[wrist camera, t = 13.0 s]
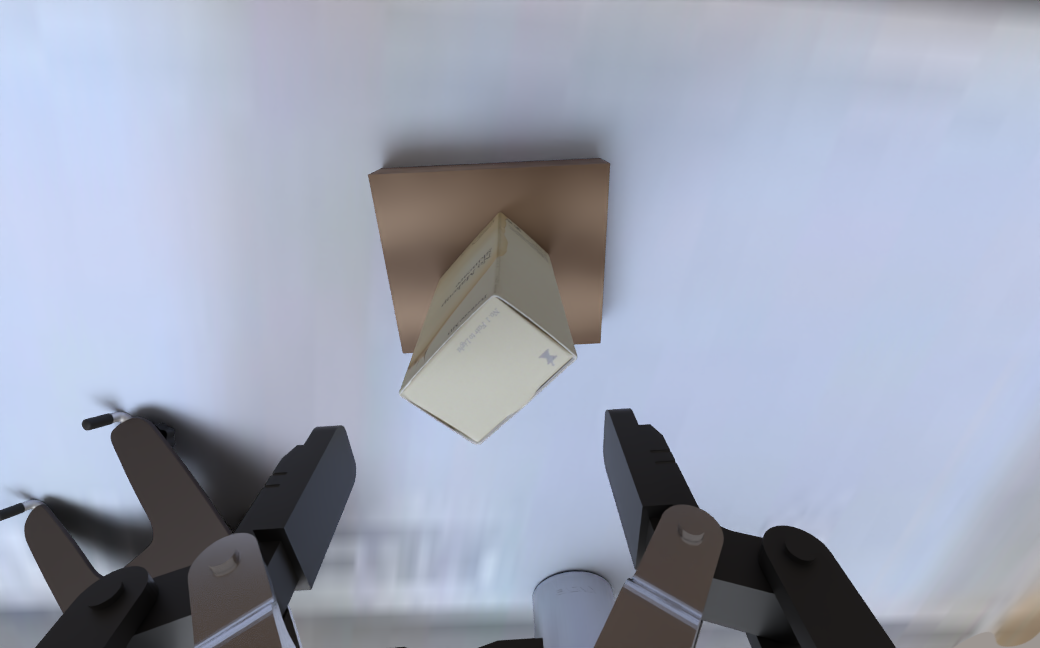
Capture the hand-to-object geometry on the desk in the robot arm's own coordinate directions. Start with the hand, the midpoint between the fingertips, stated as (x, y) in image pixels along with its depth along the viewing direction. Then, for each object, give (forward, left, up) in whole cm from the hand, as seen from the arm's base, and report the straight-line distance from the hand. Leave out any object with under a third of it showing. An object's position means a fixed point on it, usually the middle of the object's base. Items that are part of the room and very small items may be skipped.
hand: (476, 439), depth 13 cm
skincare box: (0, 0, -16) cm, 16 cm away
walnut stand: (0, 0, -19) cm, 19 cm away
